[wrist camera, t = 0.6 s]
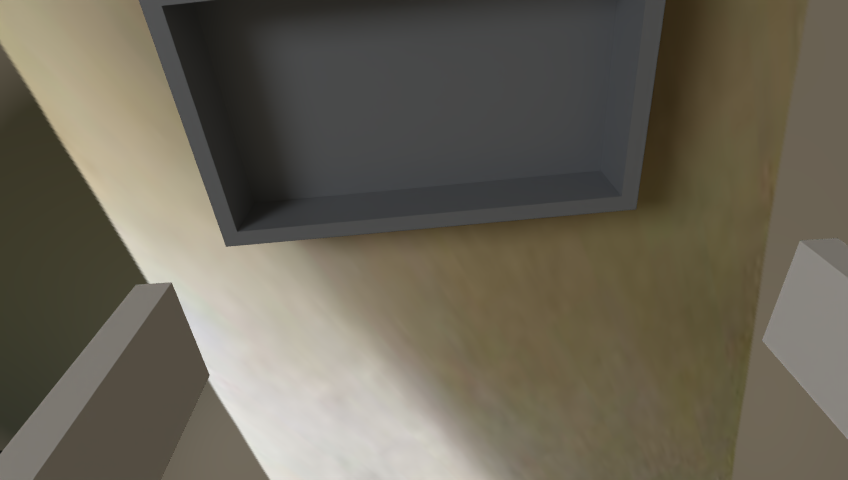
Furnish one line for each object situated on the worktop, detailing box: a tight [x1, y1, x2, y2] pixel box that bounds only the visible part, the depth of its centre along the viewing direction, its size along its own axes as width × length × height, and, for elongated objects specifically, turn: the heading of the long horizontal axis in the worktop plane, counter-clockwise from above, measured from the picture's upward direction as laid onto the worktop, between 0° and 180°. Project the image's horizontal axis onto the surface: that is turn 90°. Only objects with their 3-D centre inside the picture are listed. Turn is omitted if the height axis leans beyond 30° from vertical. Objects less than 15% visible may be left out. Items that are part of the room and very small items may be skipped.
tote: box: [139, 0, 666, 247], centre depth 30 cm, size 15×26×5 cm, turn 95°
